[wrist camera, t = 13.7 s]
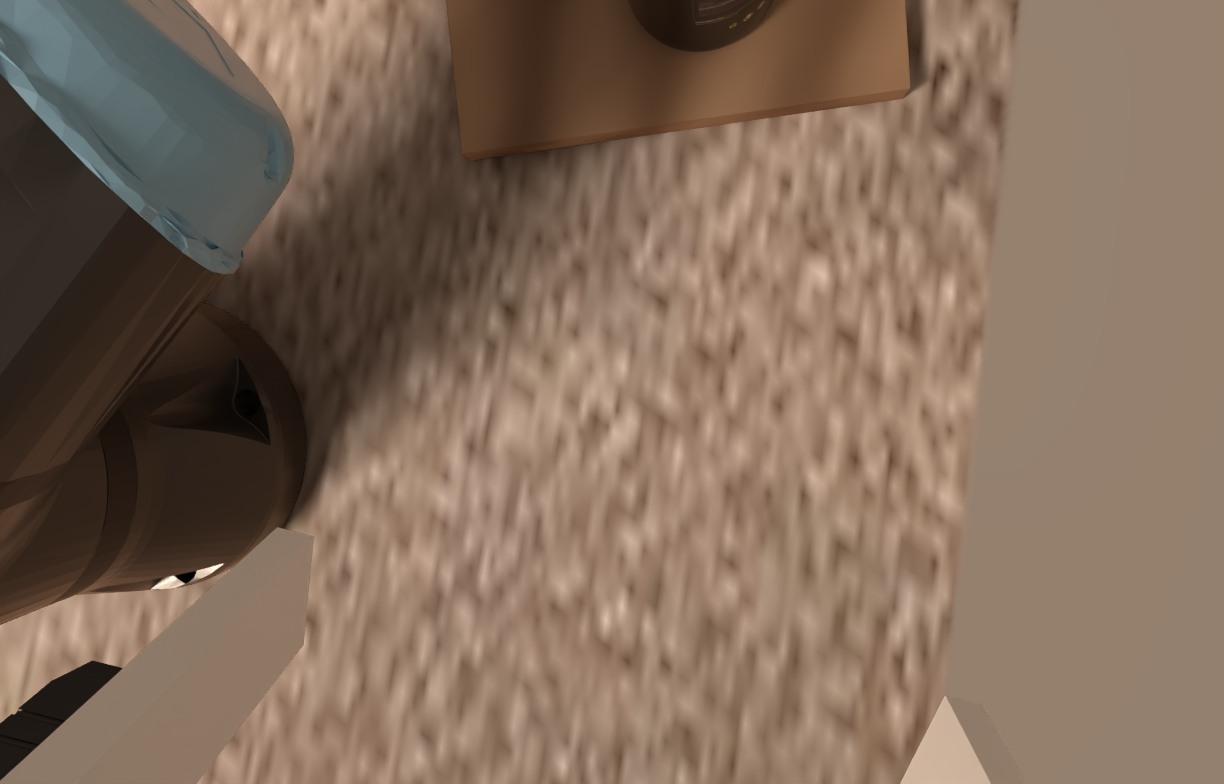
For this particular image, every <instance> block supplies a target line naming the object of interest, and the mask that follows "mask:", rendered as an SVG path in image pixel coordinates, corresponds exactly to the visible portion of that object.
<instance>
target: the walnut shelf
mask: <svg viewBox="0 0 1224 784" xmlns="http://www.w3.org/2000/svg"><path fill="white" fill-rule="evenodd" d="M446 4H447V13H448V23H449V33H450V42H451V52H452V62H453V72H454V81H455V91H456V101H457V110H458V120H459V130H460V139H461V149H462V154H463V155H464V156H466V157H467V158H469V159H470V160H478V159H485V158H492V157H499V156H506V155H513V154H520V153H527V152H534V151H541V150H548V149H555V148H561V147H568V146H575V145H582V144H589V143H596V142H603V141H610V140H617V139H624V138H631V137H638V136H645V135H652V134H659V133H666V132H673V131H680V130H687V129H694V128H701V127H708V126H715V125H722V124H729V123H736V122H743V121H750V120H757V119H764V118H771V117H778V116H785V115H792V114H799V113H806V112H813V111H820V110H826V109H833V108H840V107H847V106H854V105H861V104H868V103H875V102H882V101H889V100H896V99H903V98H904V96H905V95H906V94H907V92H908V91H909V90H910V89H911V87H910V71H909V55H908V39H907V23H906V7H905V0H774V1H773V3H772V5H771V7H770V8H769V10H768V11H767V13H766V14H765V16H764V17H763V18H762V20H761V21H760V22H759V23H758V24H757V25H756V26H755V27H754V28H753V29H752V30H751V31H750V32H749V33H747V34H746V35H745V36H744V37H742V38H741V39H739V40H738V41H736V42H734V43H732V44H730V45H728V46H725V47H723V48H720V49H716V50H712V51H706V52H688V51H682V50H677V49H674V48H671V47H669V46H667V45H665V44H663V43H661V42H660V41H658V40H656V39H655V38H654V37H652V36H651V35H650V34H649V33H648V32H647V31H646V30H645V29H644V28H643V27H642V26H641V24H640V23H639V22H638V20H637V19H636V17H635V15H634V13H633V11H632V9H631V7H630V5H629V2H628V0H446Z"/></svg>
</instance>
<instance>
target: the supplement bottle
mask: <svg viewBox="0 0 1224 784" xmlns="http://www.w3.org/2000/svg"><path fill="white" fill-rule="evenodd" d="M773 1H774V0H628V2H629V5H630V7H631V9H632V11H633V13H634V15H635V17H636V19H637V20H638V22H639V23H640V24H641V26H642V27H643V28H644V29H645V30H646V31H647V32H648V33H649V34H650V35H651V36H652V37H654V38H655V39H656V40H658V41H660V42H661V43H663V44H665V45H667V46H669V47H671V48H674V49H677V50H682V51H688V52H706V51H712V50H716V49H720V48H723V47H725V46H728V45H730V44H732V43H734V42H736V41H738V40H739V39H741V38H742V37H744V36H745V35H746V34H747V33H749V32H750V31H751V30H752V29H753V28H754V27H755V26H756V25H757V24H758V23H759V22H760V21H761V20H762V18H763V17H764V16H765V14H766V13H767V11H768V10H769V8H770V7H771V5H772V3H773Z"/></svg>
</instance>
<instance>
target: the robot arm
mask: <svg viewBox="0 0 1224 784" xmlns="http://www.w3.org/2000/svg"><path fill="white" fill-rule="evenodd" d="M293 164H294V148H293V141H292V137H291V133H290V130H289V127H288V125H287V123H286V120H285V118H284V116H283V114H282V112H281V111H280V109H279V107H278V106H277V104H276V102H275V101H274V99H273V98H272V97H271V95H270V94H269V92H268V91H267V90H266V88H265V87H264V86H263V84H262V83H261V82H260V81H259V79H258V78H257V77H256V76H255V74H254V73H253V72H252V71H251V70H250V68H249V67H248V66H247V65H246V64H245V63H244V61H243V60H242V59H241V58H240V57H239V56H238V55H237V54H236V52H235V51H234V50H233V49H232V48H231V47H230V46H229V45H228V43H227V42H226V41H225V40H224V39H223V38H222V37H221V36H220V35H219V34H218V32H217V31H216V30H215V29H214V28H213V27H212V26H211V25H210V24H209V23H208V22H207V21H206V20H205V19H204V18H203V17H202V16H201V15H200V14H199V13H198V12H197V11H196V9H195V8H194V7H193V6H192V5H191V4H190V3H189V2H188V1H187V0H0V625H1V624H3V623H6V622H8V621H11V620H13V619H16V618H18V617H21V616H23V615H26V614H28V613H31V612H33V611H36V610H38V609H41V608H43V607H46V606H48V605H51V604H53V603H56V602H58V601H61V600H64V599H66V598H69V597H71V596H74V595H82V594H98V593H114V592H129V591H143V590H160V589H171V588H178V587H184V586H188V585H192V584H195V583H199V582H202V581H204V580H207V579H209V578H212V577H214V576H216V575H218V574H220V573H222V572H225V571H227V570H229V569H231V568H232V569H231V570H230V571H229V572H228V573H227V574H226V575H225V576H223V577H222V578H221V579H220V580H219V581H218V582H217V583H216V584H215V585H214V586H212V587H211V588H210V589H209V590H208V591H207V592H206V593H205V594H204V595H203V596H202V597H200V598H199V599H198V600H197V601H196V602H195V603H194V604H193V605H192V606H191V607H190V608H188V609H187V610H186V611H185V612H184V613H183V614H182V615H181V616H180V617H179V618H178V619H176V620H175V621H174V622H173V623H172V624H171V625H170V626H169V627H168V628H167V629H166V630H164V631H163V632H162V633H161V634H160V635H159V636H158V637H157V638H156V639H155V640H153V641H152V642H151V643H150V644H149V645H148V646H147V647H146V648H145V649H144V650H143V651H141V652H140V653H139V654H138V655H137V656H136V657H135V658H134V659H133V660H132V661H131V662H129V663H128V664H127V665H126V666H125V667H124V668H120V667H116V666H112V665H108V664H104V663H100V662H96V661H91V662H89V663H87V664H85V665H83V666H81V667H79V668H77V669H75V670H73V671H71V672H69V673H67V674H65V675H63V676H61V677H59V678H57V679H55V680H53V681H51V682H50V683H49V684H47V685H46V686H45V687H44V688H43V689H41V690H40V691H39V692H38V693H37V694H35V695H34V696H33V697H32V698H30V699H29V700H28V701H27V702H26V703H24V704H23V705H22V706H21V707H20V708H18V711H17V713H16V714H15V715H13V714H11V715H10V716H9V717H8V718H6V719H5V720H4V721H3V722H2V723H0V784H197V782H198V781H199V780H200V778H201V777H202V776H203V775H204V773H205V772H206V771H207V769H208V768H209V767H210V765H211V764H212V763H213V762H214V760H215V759H216V758H217V756H218V755H219V754H220V752H221V751H222V750H223V749H224V747H225V746H226V745H227V743H228V742H229V741H230V739H231V738H232V737H233V736H234V734H235V733H236V732H237V730H238V729H239V728H240V726H241V725H242V724H243V723H244V721H245V720H246V719H247V717H248V716H249V715H250V713H251V712H252V711H253V710H254V708H255V707H256V706H257V704H258V703H259V702H260V700H261V699H262V698H263V697H264V695H265V694H266V693H267V691H268V690H269V689H270V687H271V686H272V685H273V684H274V682H275V681H276V680H277V678H278V677H279V676H280V674H281V673H282V672H283V671H284V669H285V668H286V667H287V665H288V664H289V663H290V661H291V660H292V659H293V658H294V656H295V655H296V654H297V652H298V651H299V650H300V648H301V647H302V646H303V644H304V634H305V624H306V613H307V603H308V592H309V582H310V572H311V561H312V551H313V540H314V536H310V535H306V534H302V533H298V532H294V531H290V530H286V529H282V527H283V525H284V523H285V522H286V520H287V519H288V517H289V515H290V513H291V511H292V509H293V507H294V505H295V502H296V500H297V497H298V494H299V491H300V487H301V484H302V479H303V474H304V468H305V457H306V438H305V428H304V421H303V416H302V412H301V407H300V404H299V401H298V397H297V395H296V392H295V389H294V387H293V385H292V382H291V380H290V378H289V376H288V374H287V372H286V370H285V369H284V367H283V365H282V364H281V362H280V361H279V359H278V358H277V356H276V355H275V354H274V352H273V351H272V350H271V348H270V347H269V346H268V345H267V344H266V342H265V341H264V340H263V339H262V338H261V337H260V336H259V335H258V334H257V333H256V332H254V331H253V330H252V329H251V328H250V327H249V326H247V325H246V324H245V323H243V322H242V321H240V320H239V319H237V318H236V317H234V316H233V315H231V314H229V313H227V312H225V311H223V310H221V309H219V308H217V307H214V306H211V305H208V304H205V303H203V302H204V301H205V299H206V298H207V297H208V296H209V294H210V293H211V292H212V291H213V289H214V288H215V287H216V286H217V284H218V283H219V282H220V281H221V279H222V278H223V277H224V276H225V274H233V273H234V272H235V271H236V270H237V269H238V267H239V266H240V264H241V262H242V260H243V251H242V249H243V248H244V246H245V245H246V243H247V242H248V240H249V239H250V238H251V236H252V235H253V233H254V232H255V230H256V229H257V228H258V226H259V225H260V223H261V222H262V220H263V219H264V218H265V216H266V215H267V213H268V212H269V210H270V209H271V208H272V206H273V205H274V203H275V202H276V200H277V199H278V198H279V196H280V195H281V193H282V192H283V190H284V189H285V187H286V185H287V184H288V182H289V179H290V177H291V174H292V169H293ZM900 784H1028V783H1027V781H1026V780H1025V778H1024V776H1023V774H1022V773H1021V771H1020V769H1019V767H1018V766H1017V764H1016V762H1015V760H1014V759H1013V757H1012V756H1011V754H1010V752H1009V750H1008V748H1007V747H1006V745H1005V743H1004V741H1003V740H1002V738H1001V736H1000V734H999V733H998V731H997V729H996V728H995V726H994V724H993V722H992V721H991V719H990V717H989V715H988V714H987V712H986V710H985V709H984V707H983V705H982V704H978V703H974V702H970V701H966V700H962V699H958V698H954V697H950V696H946V695H945V697H944V699H943V701H942V703H941V704H940V706H939V708H938V710H937V712H936V714H935V716H934V718H933V720H932V722H931V724H930V726H929V728H928V730H927V732H926V734H925V736H924V738H923V740H922V742H921V744H920V746H919V748H918V750H917V752H916V754H915V756H914V758H913V760H912V761H911V763H910V765H909V767H908V769H907V771H906V773H905V775H904V777H903V779H902V781H901V783H900Z"/></svg>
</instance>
